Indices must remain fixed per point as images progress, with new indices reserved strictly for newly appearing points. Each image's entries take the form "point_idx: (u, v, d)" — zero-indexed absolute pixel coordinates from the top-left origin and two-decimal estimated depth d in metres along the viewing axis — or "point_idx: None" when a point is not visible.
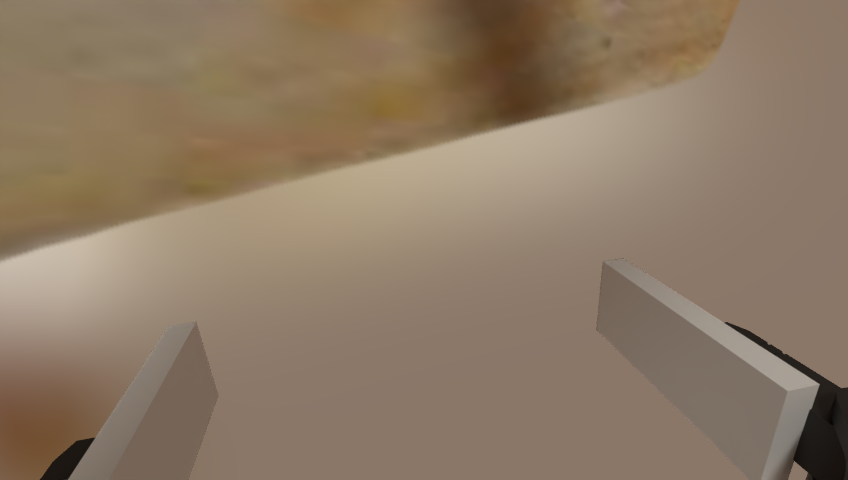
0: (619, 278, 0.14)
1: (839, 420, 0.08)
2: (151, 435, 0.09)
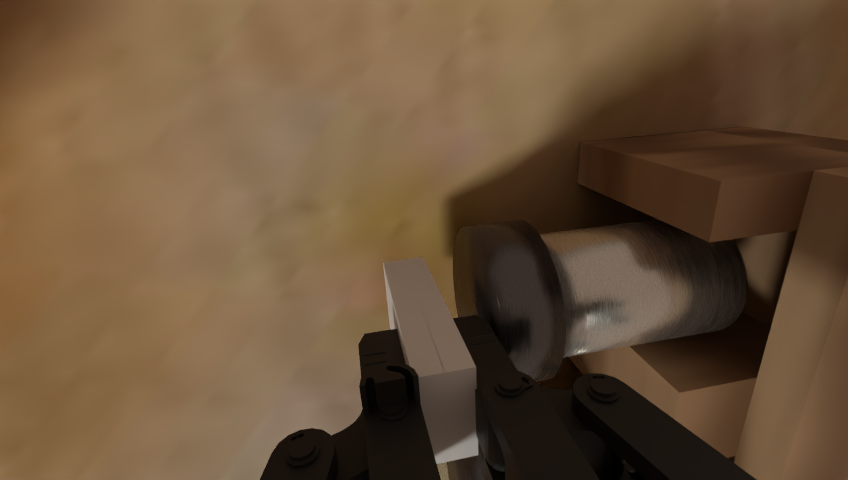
0: (407, 275, 0.15)
1: (490, 412, 0.09)
2: None
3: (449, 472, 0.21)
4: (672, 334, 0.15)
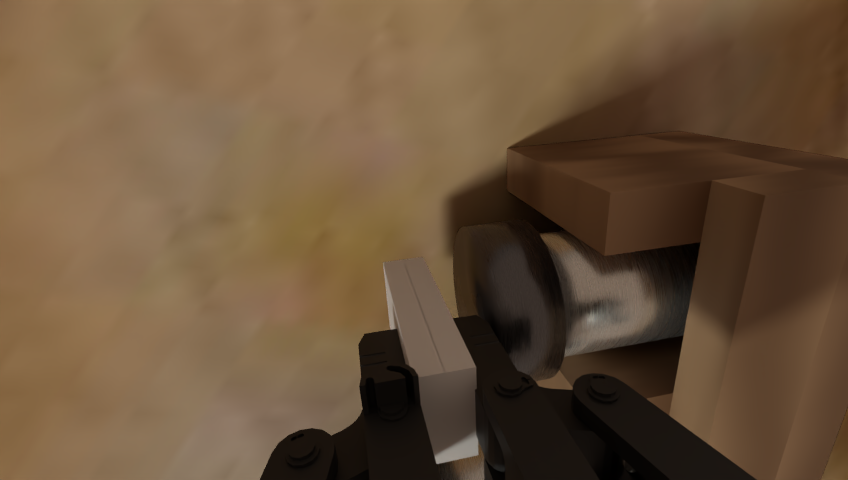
0: (407, 274, 0.15)
1: (489, 412, 0.09)
2: None
3: None
4: (673, 333, 0.15)
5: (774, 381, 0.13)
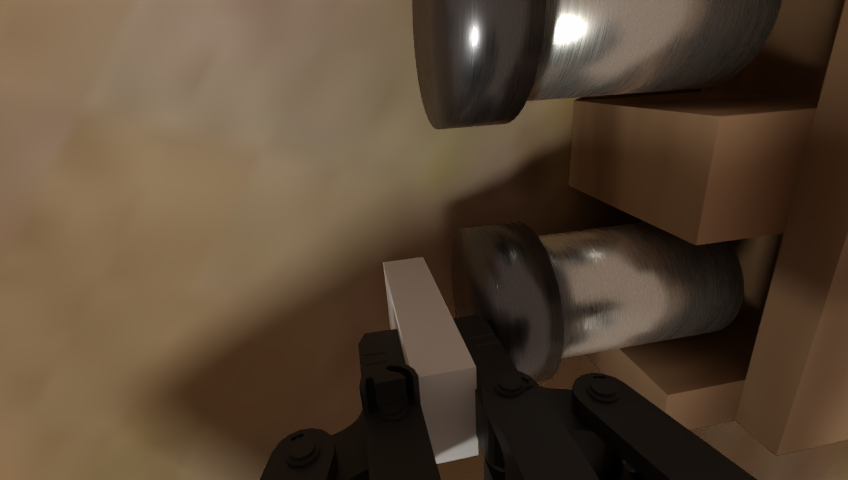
0: (407, 274, 0.15)
1: (490, 413, 0.09)
2: None
3: (419, 66, 0.14)
4: None
5: None
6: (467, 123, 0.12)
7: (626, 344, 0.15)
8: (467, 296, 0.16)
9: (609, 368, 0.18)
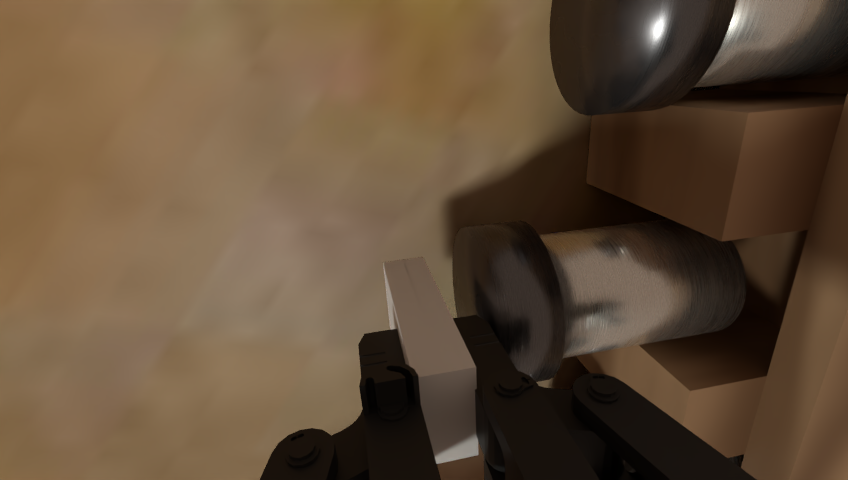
0: (407, 275, 0.15)
1: (489, 412, 0.09)
2: None
3: (458, 304, 0.18)
4: (840, 41, 0.12)
5: None
6: None
7: None
8: None
9: None
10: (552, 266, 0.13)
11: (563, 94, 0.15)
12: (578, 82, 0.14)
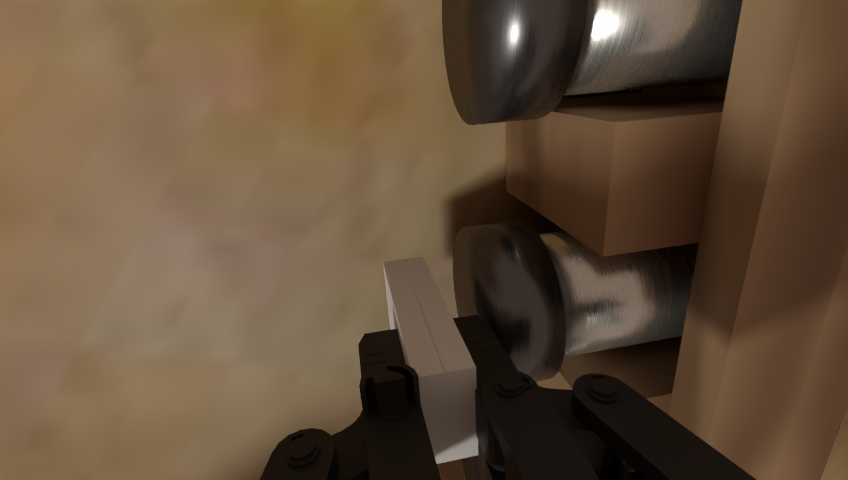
0: (407, 275, 0.15)
1: (490, 412, 0.09)
2: None
3: (458, 304, 0.18)
4: (722, 45, 0.12)
5: None
6: None
7: None
8: (474, 478, 0.19)
9: None
10: (552, 265, 0.13)
11: (454, 101, 0.14)
12: (462, 89, 0.13)
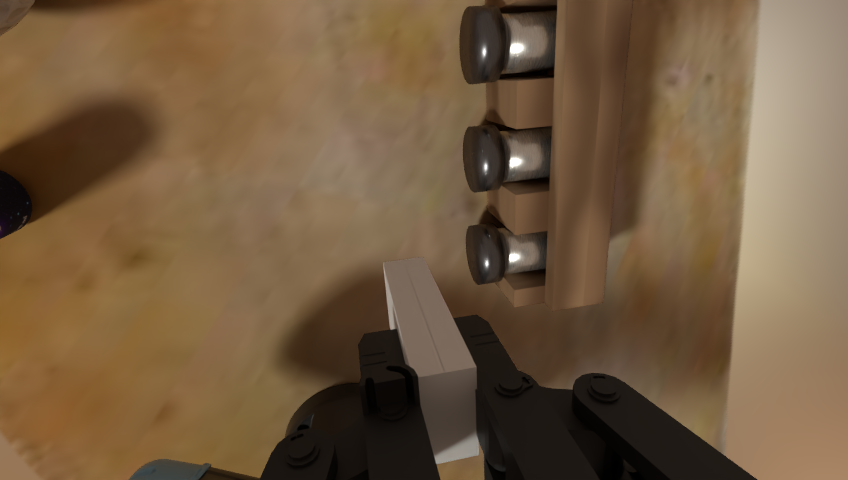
0: (407, 275, 0.15)
1: (490, 412, 0.09)
2: None
3: (465, 167, 0.40)
4: None
5: (588, 57, 0.32)
6: (483, 191, 0.38)
7: (531, 267, 0.41)
8: (472, 251, 0.41)
9: (502, 287, 0.43)
10: (500, 136, 0.36)
11: (464, 76, 0.37)
12: (467, 71, 0.36)
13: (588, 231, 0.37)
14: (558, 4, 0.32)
